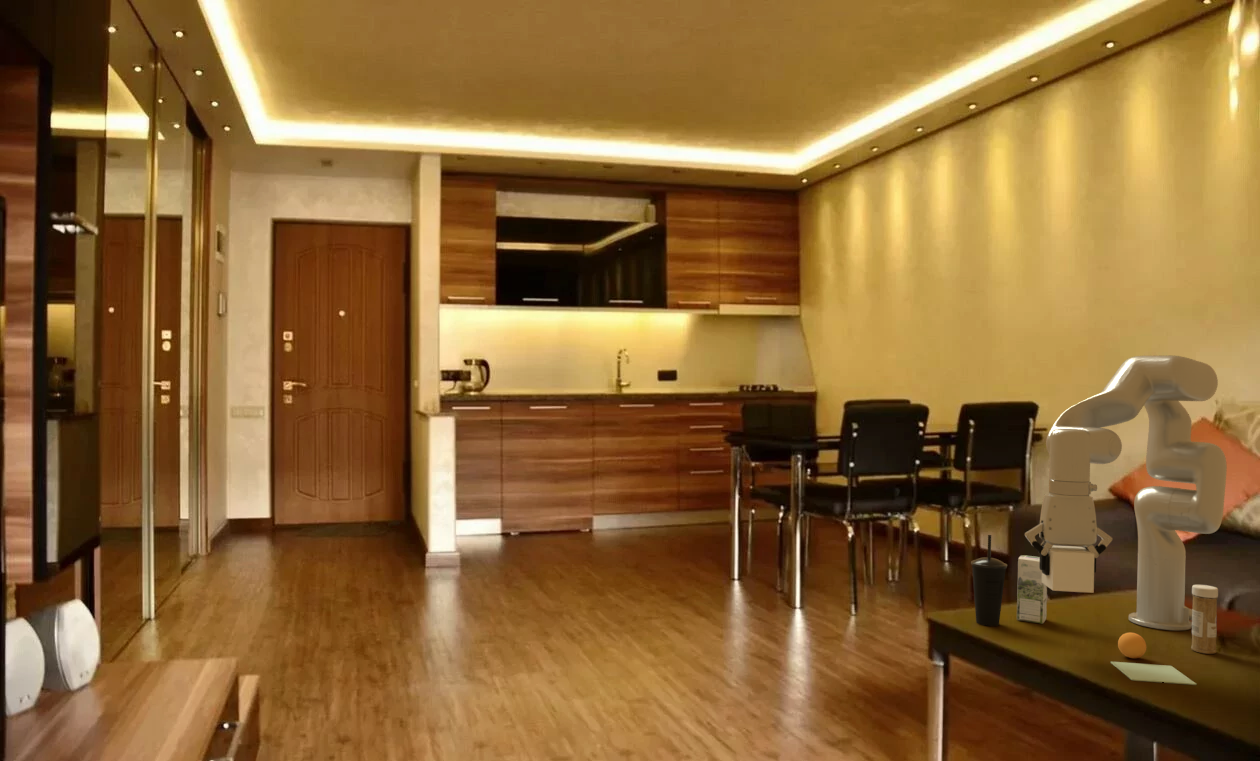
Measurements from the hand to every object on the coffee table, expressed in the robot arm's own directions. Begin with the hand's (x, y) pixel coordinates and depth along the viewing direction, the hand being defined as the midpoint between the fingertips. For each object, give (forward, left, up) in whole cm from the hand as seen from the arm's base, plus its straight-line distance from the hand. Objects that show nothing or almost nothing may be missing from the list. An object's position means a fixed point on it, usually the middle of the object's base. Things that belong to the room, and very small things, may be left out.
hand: (1067, 574), depth 186 cm
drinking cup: (+11, -19, -16) cm, 27 cm away
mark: (-12, +12, -16) cm, 23 cm away
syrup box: (0, -25, -16) cm, 29 cm away
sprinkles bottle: (-29, -7, -16) cm, 34 cm away
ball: (-12, +2, -13) cm, 18 cm away
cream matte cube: (0, 0, -3) cm, 3 cm away
